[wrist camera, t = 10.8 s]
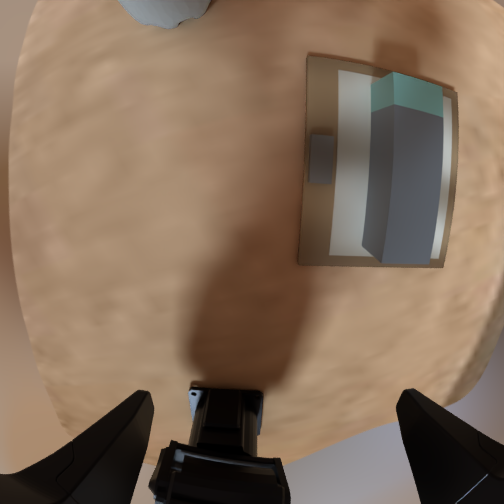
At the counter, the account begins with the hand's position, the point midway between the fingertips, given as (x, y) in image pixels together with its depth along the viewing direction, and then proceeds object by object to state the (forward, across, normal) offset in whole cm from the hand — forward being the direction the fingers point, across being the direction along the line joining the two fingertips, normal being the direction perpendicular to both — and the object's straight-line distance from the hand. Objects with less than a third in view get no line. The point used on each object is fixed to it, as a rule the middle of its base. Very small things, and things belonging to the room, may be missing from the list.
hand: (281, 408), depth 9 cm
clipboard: (+12, -8, -8) cm, 16 cm away
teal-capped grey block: (+11, -8, -8) cm, 16 cm away
